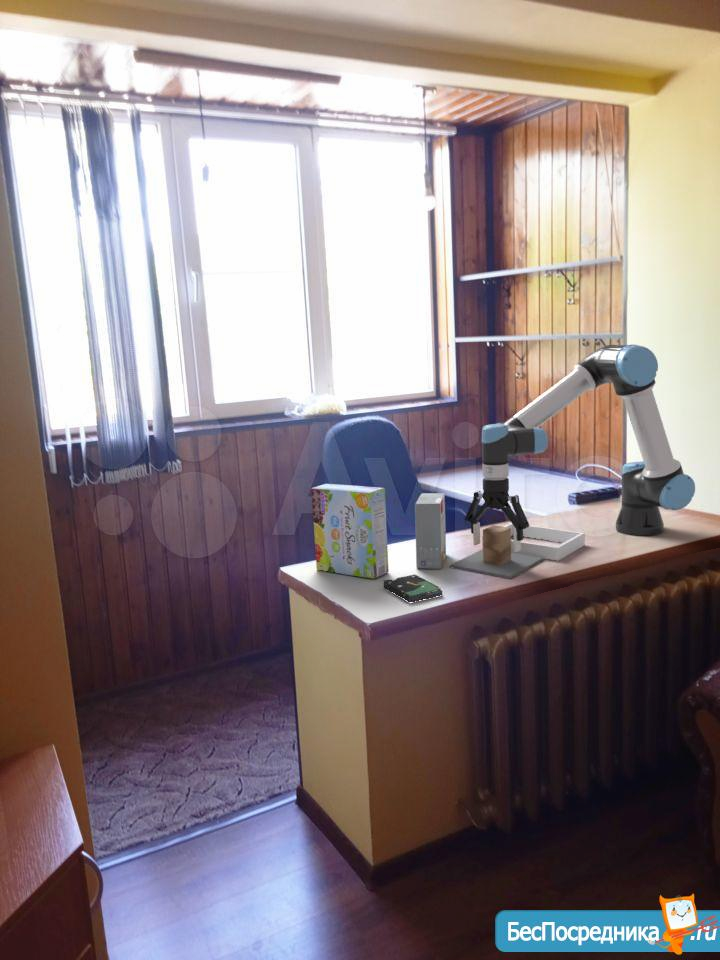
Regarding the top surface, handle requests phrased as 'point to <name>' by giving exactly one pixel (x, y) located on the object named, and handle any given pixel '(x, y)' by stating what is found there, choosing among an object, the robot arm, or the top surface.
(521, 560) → the mat
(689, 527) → the top surface
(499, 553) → the walnut block
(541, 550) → the bin
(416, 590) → the disk drive
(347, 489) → the snack box
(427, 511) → the hard drive box
